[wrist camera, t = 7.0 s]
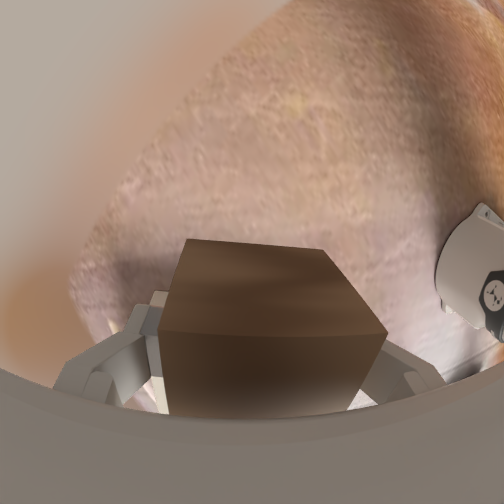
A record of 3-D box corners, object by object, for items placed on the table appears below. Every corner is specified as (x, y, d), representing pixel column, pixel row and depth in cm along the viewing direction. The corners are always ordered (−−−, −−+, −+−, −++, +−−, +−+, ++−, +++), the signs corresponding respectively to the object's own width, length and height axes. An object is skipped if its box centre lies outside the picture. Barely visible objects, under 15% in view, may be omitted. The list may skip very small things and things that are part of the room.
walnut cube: (322, 249, 10) (388, 333, 6) (296, 349, 12) (325, 440, 7) (186, 238, 9) (156, 329, 5) (186, 346, 11) (175, 444, 7)
